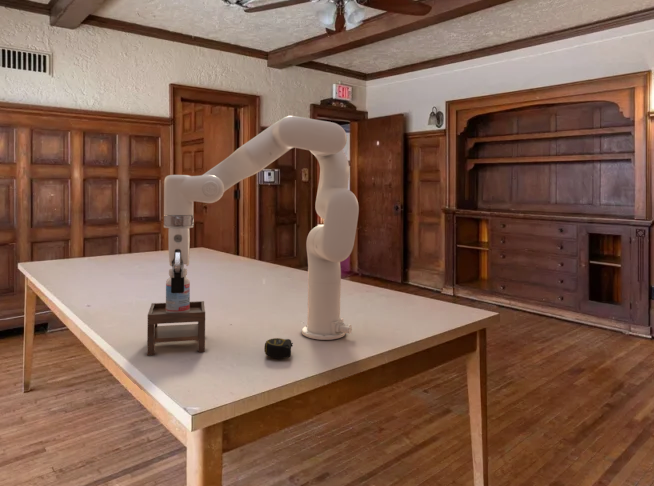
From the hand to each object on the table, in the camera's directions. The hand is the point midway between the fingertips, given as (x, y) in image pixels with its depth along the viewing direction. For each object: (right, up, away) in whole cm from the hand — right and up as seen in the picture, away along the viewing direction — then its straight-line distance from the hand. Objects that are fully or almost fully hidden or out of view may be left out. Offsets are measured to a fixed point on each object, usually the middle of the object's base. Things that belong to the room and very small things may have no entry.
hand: (177, 289), depth 122 cm
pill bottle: (0, -6, 0) cm, 6 cm away
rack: (0, -15, 0) cm, 15 cm away
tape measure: (+28, -16, -6) cm, 32 cm away
